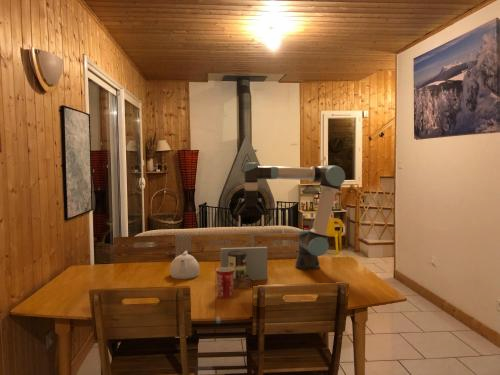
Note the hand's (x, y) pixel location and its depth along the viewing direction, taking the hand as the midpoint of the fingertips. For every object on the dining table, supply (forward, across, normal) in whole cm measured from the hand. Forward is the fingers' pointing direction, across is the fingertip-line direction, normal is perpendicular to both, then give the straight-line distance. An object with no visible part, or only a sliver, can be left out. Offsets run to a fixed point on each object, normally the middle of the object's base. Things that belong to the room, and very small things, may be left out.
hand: (251, 226), depth 248 cm
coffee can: (+26, +10, +14) cm, 31 cm away
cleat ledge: (+29, +10, +15) cm, 34 cm away
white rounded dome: (+29, +38, -7) cm, 48 cm away
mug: (+29, +18, +36) cm, 49 cm away
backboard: (+29, +5, +7) cm, 30 cm away
